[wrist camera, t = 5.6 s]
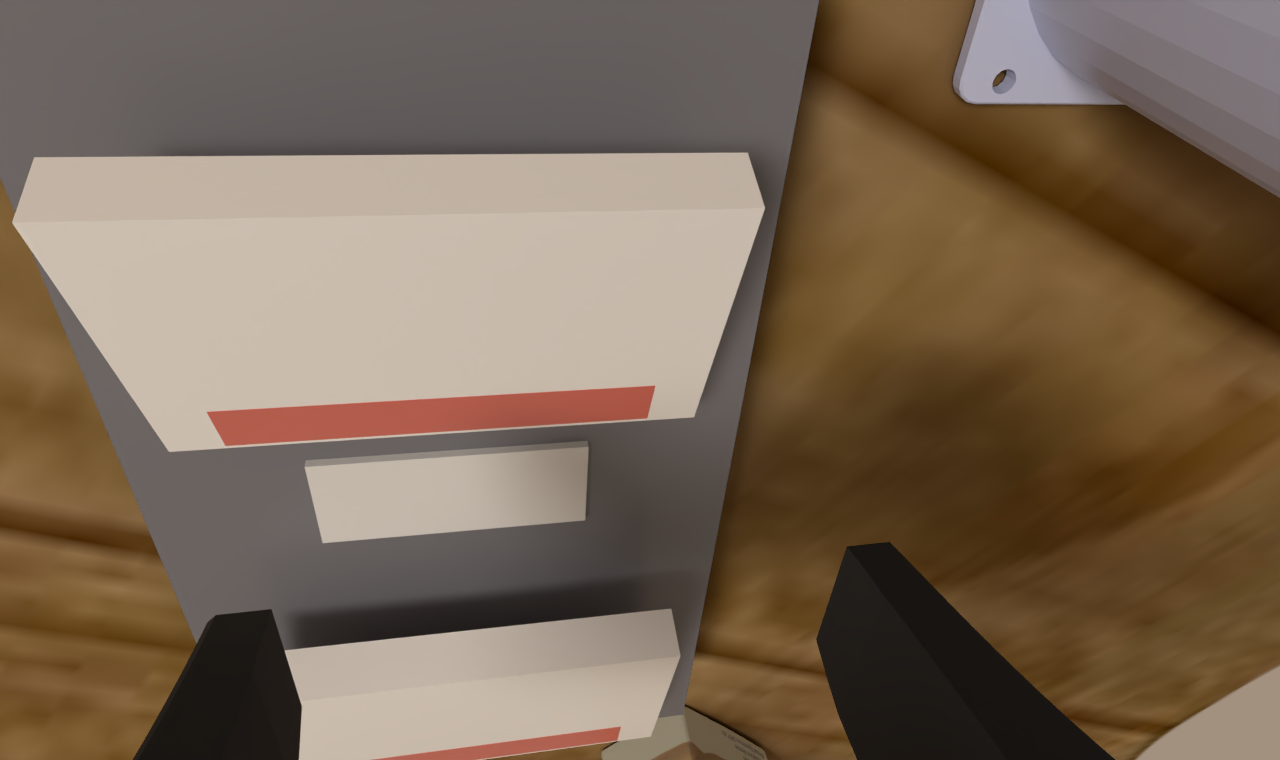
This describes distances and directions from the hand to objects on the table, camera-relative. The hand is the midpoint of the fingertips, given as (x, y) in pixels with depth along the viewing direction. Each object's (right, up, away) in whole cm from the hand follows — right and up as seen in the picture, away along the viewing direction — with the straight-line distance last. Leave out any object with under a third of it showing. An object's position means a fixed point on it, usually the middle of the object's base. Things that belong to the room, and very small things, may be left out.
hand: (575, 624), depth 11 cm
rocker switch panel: (-4, +3, +11) cm, 12 cm away
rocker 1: (-3, +5, +4) cm, 7 cm away
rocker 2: (-4, -5, +11) cm, 13 cm away
